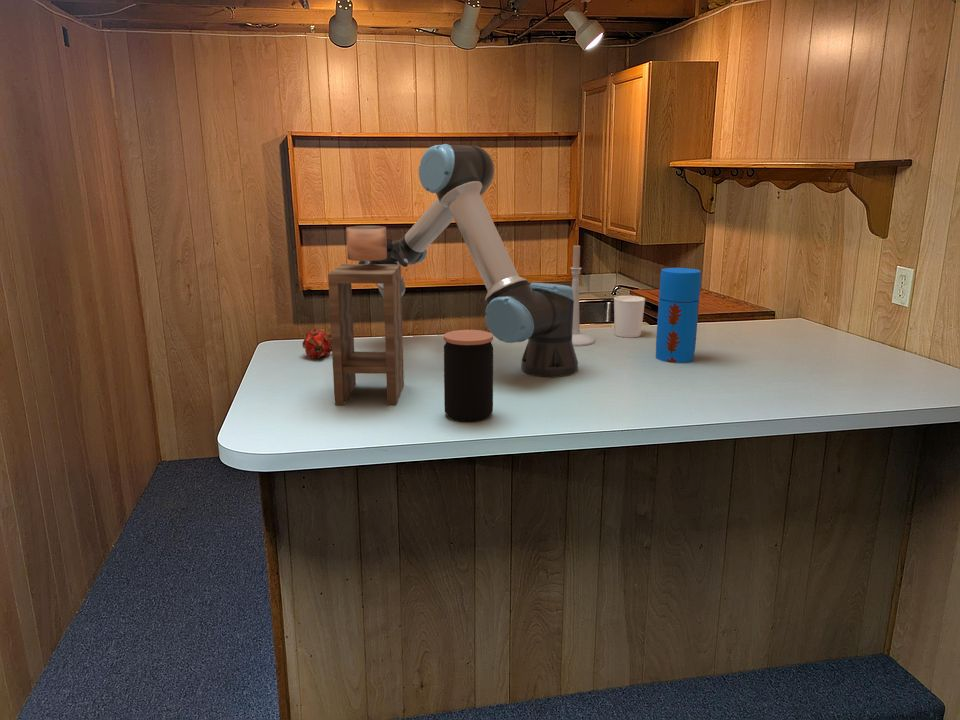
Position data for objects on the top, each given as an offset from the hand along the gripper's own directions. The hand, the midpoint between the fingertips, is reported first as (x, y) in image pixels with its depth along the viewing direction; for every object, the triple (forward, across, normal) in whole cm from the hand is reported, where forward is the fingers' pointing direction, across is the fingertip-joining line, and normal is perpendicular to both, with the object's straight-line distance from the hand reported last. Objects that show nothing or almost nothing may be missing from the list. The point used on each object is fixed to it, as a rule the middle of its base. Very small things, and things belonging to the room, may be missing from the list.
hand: (374, 235), depth 176 cm
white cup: (-61, -73, -7) cm, 96 cm away
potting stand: (-6, 0, -38) cm, 39 cm away
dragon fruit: (-36, +20, -21) cm, 47 cm away
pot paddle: (0, 0, -5) cm, 5 cm away
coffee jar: (+6, -24, -45) cm, 52 cm away
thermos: (-36, -81, -21) cm, 91 cm away
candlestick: (-53, -55, -11) cm, 77 cm away
